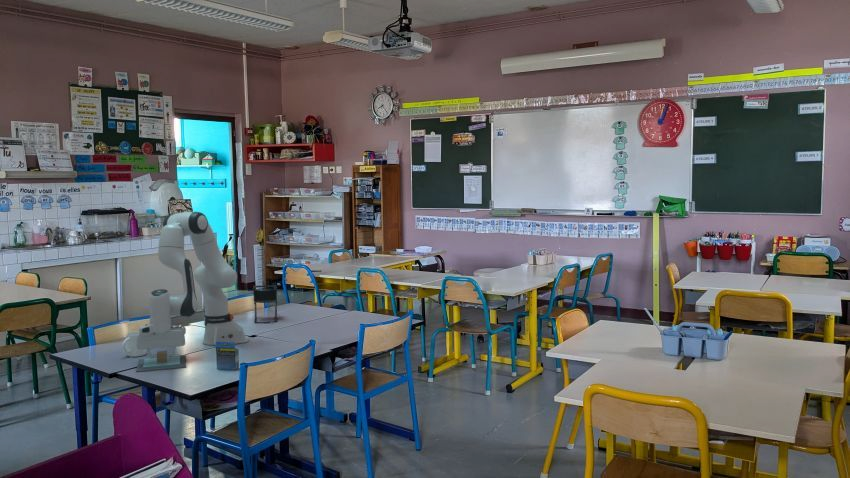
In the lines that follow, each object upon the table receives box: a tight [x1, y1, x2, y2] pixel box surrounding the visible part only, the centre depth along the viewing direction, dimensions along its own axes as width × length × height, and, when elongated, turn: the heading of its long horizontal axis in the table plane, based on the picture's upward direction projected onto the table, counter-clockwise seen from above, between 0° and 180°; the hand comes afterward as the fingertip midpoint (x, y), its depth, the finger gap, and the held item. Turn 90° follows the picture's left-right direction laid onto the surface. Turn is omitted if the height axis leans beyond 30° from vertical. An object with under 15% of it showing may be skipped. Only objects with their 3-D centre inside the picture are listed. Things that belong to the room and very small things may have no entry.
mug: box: [121, 330, 147, 358], centre depth 307 cm, size 12×8×10 cm
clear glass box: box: [252, 284, 278, 324], centre depth 384 cm, size 13×17×22 cm
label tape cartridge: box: [215, 342, 240, 371], centre depth 285 cm, size 9×4×12 cm, turn 81°
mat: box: [135, 354, 187, 373], centre depth 293 cm, size 20×20×1 cm
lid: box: [143, 350, 181, 369], centre depth 293 cm, size 15×15×5 cm
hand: (161, 357), depth 293 cm, fingers open, 7 cm apart
